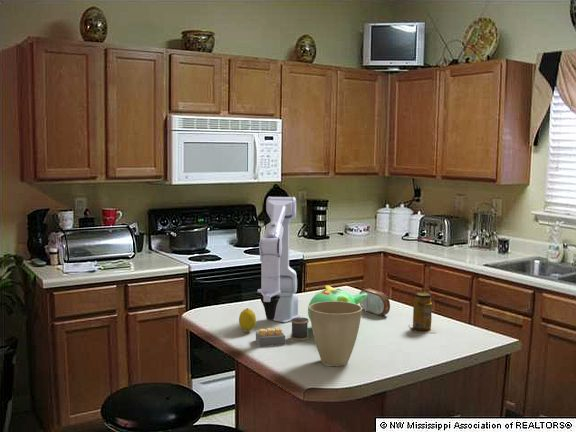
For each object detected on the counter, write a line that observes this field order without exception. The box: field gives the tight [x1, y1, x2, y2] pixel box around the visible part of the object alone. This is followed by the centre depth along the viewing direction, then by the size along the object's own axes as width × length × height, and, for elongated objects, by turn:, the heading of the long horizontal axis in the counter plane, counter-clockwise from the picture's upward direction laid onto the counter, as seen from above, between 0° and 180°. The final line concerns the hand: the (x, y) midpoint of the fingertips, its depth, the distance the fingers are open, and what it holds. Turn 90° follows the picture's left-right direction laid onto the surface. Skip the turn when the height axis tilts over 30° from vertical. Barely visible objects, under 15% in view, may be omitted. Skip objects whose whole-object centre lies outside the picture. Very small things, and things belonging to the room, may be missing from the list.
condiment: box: [408, 292, 437, 334], centre depth 206 cm, size 7×8×12 cm
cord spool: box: [290, 316, 310, 342], centre depth 196 cm, size 6×6×6 cm
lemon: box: [238, 307, 257, 333], centre depth 202 cm, size 6×6×8 cm
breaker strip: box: [255, 327, 286, 347], centre depth 192 cm, size 8×6×4 cm
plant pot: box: [308, 301, 363, 367], centre depth 174 cm, size 15×15×16 cm
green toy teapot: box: [307, 285, 367, 322], centre depth 204 cm, size 18×17×15 cm
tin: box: [359, 288, 391, 317], centre depth 227 cm, size 15×3×8 cm, turn 33°
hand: (270, 319), depth 191 cm, fingers closed
